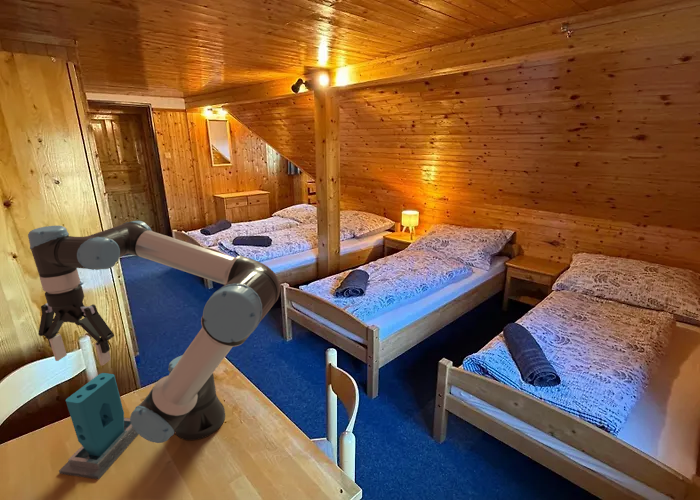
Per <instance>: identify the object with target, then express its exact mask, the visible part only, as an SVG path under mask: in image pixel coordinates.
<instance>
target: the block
mask: <svg viewBox="0 0 700 500" xmlns="http://www.w3.org/2000/svg"><path fill="white" fill-rule="evenodd" d="M118 388H119V387H118V384H117V380H116V375H115V374H113V373H107V372H101V373H99V374H98V375H96V376H95V377H94V378H92V379H91V380H89V381H88V382H87V383H86V384H84V385H83V386H81V387H80V388H79V389H78V390H76V391H75V392H73V393H72V394H71V395H70V396H68V397H67V398H66V399H65V402H66V406H67V410H68V412H69V415H70V418H71V422H72V425H73V428H74V431H75V435H76V439H77V441H78V442H79V444H80V445H81V447H82V446H83V447H84V448H85V450H86V451H87V452H88V453H89V454H90V455H94V456H99V457H100V456H101V455H102V454H103V453H104V452H105V451H106V450H107V449H108V448H109V447H110V446H111V445H112V444H113V442H114V441H115V440H116V439H117V438H118V437H119V436H120V435H121V434H122V433H123V432H124V418H125V412H124V408H123V404H122V399H121V395H120V392H119V389H118Z"/></svg>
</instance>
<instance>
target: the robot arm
mask: <svg viewBox="0 0 700 500" xmlns="http://www.w3.org/2000/svg"><path fill="white" fill-rule="evenodd" d="M27 237H28V243H29V249H30V251H31V254H32V257H33V261H34V264H35V266H36V269H37V273H38V277H39V281H40V283H41V289H42V290H43V291H44V296H45V300H46V303H43V304H42V305H40V309H41V310H40V311H41V317H40V322H39V329H38V335H39V336H40V337H43V336H44V337H45V339H47V341H48V345H49V347H50V348H51V350H52V354H53V357H54V360H55V361H56V362H59V361H60V360H62V359H64V358H65V357H66V356H67V355H68V354H67V351H66V347H65V344H64V341H63V338H62V335H61V334H60V330H61V328H62V326H63V324H64V323H70V324H71V323H72V324H75V325H76V326H80V327H81V328H82V329H83V330H84V331H85V332H86V333H87V334H88V335H90V337H92V338H93V339H94V341H95V343H94V345H95V348H96V349H95V350H96V352H97V358H98V361H99V364H100V366H104V365H105V364H107V363H108V362H110V361H111V359H112V358H111V354H110V349H111V348H110V344H109V340H111V339H112V338H113V337H115V334H114V332H113V331H112V330H111V328H110V327H109V325H108V324H107V322H106V321H105V320H104V318H103V317H102V316H101V314H100V313H99V312H98V311H99V310H98V309H97V306H96V304H91V305H87V306H86V305H85V304H84V298H85V294H84V290H83V287H82V286H83V285H81V280H80V279H81V278H80V275H79V272H78V269H84V270H92V271H98V270H99V271H100V270H108V269H111V268H113V267H114V266H116V263H117V262H119V260H120V258H121V257H123V256H125V255H128V254H129V255H130V254H131V255H133V256H136V257H140V258H142V259H146V260H150V261H152V262H155V263H158V264H160V265H164V266H166V267H170V268H173V269H175V270H179V271H181V272H186V273H188V274H191V275H194V276H197V277H200V278H203V279H207V280H210V281H212V282H215V283H218V284H220V285H223V286H221V287H220V288H218V289H217V290H216V291H215V292H213V293H212V294H211V295H210V297H209V299H208V300H207V301H206V303H205V305H204V308H203V311H202V316H201V319H200V321H201V322H200V324H201V328H200V330H199V331H198V332H197V334H196V335H195V337H194V338H193V340H192V341H191V342H190V344H189V346H188V347H187V348H186V350H185V351H184V353H183V354H182V355H180V356H176V357H175V358H173V359H172V360H171V361H170V362H169V364H168V372H169V374H168V375H166V376H163V377H161V378H160V379H159V380H157V382H156V383H155V384H154V386H152V388H151V390H150V391H149V393H148V394H147V396H146V397H145V398H144V399H143V400H142V401H141V402H140V404H138V405H137V406H135V407H134V410H133V411H132V412H131V414H130V417H129V418H130V421H131V425H132V426H133V428H134V430H135V431H136V432H137V433H138V434H139V435H138V436H140V437H141V438H143V439H144V440H146V441H148V442H149V443H150V442H151V443H157V444H161V443H162V444H163V443H165V442H167V441H168V440H170V438H171V437H173V436H174V434H175V435H176V437H178V438H180V439H182V440H186V441H195V440H201V439H204V438H207V437H209V436H210V435H212V434H214V433H215V432H216V431H218V429H220V428H221V427H222V425H223V424H224V422H225V420H226V410H225V407H224V405H223V403H222V401H220V399H219V397H218V395H217V390H216V384H215V376H214V372H215V371H216V369H217V368H218V367H219V366H220V364H221V363H222V362H223V361H224V359H225V357H226V356H227V355H228V354H229V352H230V351H231V350H232V348H233V347H239V346H241V345H242V344H244V343H245V342H246V341H247V339H248V338H249V337H250V335H251V334H253V333H254V331H255V330H256V329H257V328H258V326H259V324H260V322H261V321H262V320H263V319H264V318H265V316H266V315H267V314H268V313H269V311H271V308H272V307H274V305H275V304H276V303H277V301H278V300H279V297H280V293H281V292H280V291H281V285H280V284H281V283H280V280H279V278H278V276H277V274H276V273H275V272H274V271H273V269H272V268H270V267H269V266H267V265H266V264H264V263H262V262H260V261H258V260H256V259H253V258H249V257H247V256H243V255H238V256H236V257H233V256H230V255H227V254H224V253H222V252H219V251H217V250H216V251H215V250H213V249H209V248H206V247H203V246H200V245H196V244H194V243H191V242H188V241H184V240H181V239H178V238H174V237H171V236H168V235H165V234H162V233H159V232H156V231H153V230H152V228H151V227H150V226H149V225H148V224H147V223H146V222H144V221H142V220H133V221H129V222H128V221H127V222H124V223H122V224H119V225H117V226H114V227H110V228H108V229H105V230H102V231H99V232H96V233H93V234H90V235H87V236H72V235H70V234H69V232H68V230H67V228H66V227H65V226H63V225H48V226H40V227H37V228H34V229H31V230H30V231H29V232H28V234H27Z"/></svg>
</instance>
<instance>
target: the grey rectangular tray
mask: <svg viewBox="0 0 700 500" xmlns="http://www.w3.org/2000/svg"><path fill="white" fill-rule="evenodd" d="M138 436H140V435H139V434H138V433H137V432H136V431H135V430H134V428H133V426H132V425H131V421H130V417H124V432H123V433H122V434H121V435H120V436H119V437H118V438H117V439H116V440H115V441H114V442H113V444H112V445H111V446H110V447H109V448H108V449H107V450H106V451H105V452H104V453H103V454H102V455H101V456H100V457H99V456H94V455H90V454H89V453H88V452H87V451H86V450H85V448H84V447H83V446H82V445H81V446H80V448H78V449H77V450H76V451H75V452H74V453H73V454H72V455H71V456H70V457H69V458H68V461H67V462H66V463H65V464H64V465H63V466H62V467H61V468H60V469H59V470H58V472H59V473H58V474H61V475H67V476H73V477H79V478H80V477H81V478H87V479H92V480H93V479H94V480H100V479H101V478H102V477H103V475H104V474H105V473H106V472H107V471H108V470H109V468H111V466H112V465H113V464H114V463H115V461H117V460H118V458H119V457H121V455H122V454H123V453H124V452H125V450H126V449H127V448H128V447H129V446H130V445H131V443H133V441H134V440H135V439H136V438H137V437H138Z"/></svg>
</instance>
